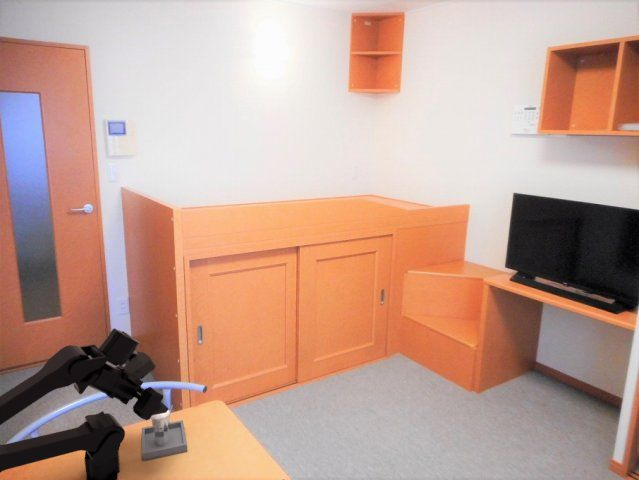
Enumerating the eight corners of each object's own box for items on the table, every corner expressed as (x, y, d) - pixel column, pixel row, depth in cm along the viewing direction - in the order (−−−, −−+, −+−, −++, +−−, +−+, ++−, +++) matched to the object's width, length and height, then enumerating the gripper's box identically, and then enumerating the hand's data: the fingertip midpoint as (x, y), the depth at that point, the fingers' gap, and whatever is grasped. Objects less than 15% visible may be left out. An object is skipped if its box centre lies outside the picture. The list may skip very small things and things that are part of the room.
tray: (142, 461, 113) (142, 453, 112) (142, 434, 122) (141, 428, 122) (187, 451, 117) (186, 444, 116) (183, 426, 126) (182, 420, 126)
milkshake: (174, 445, 118) (172, 410, 116) (152, 448, 116) (149, 413, 114) (174, 433, 122) (172, 400, 120) (152, 437, 121) (150, 403, 118)
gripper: (152, 362, 102) (197, 387, 113) (112, 335, 114) (157, 360, 125) (120, 409, 98) (170, 431, 109) (82, 377, 110) (131, 399, 121)
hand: (157, 402), depth 116 cm, fingers open, 9 cm apart
